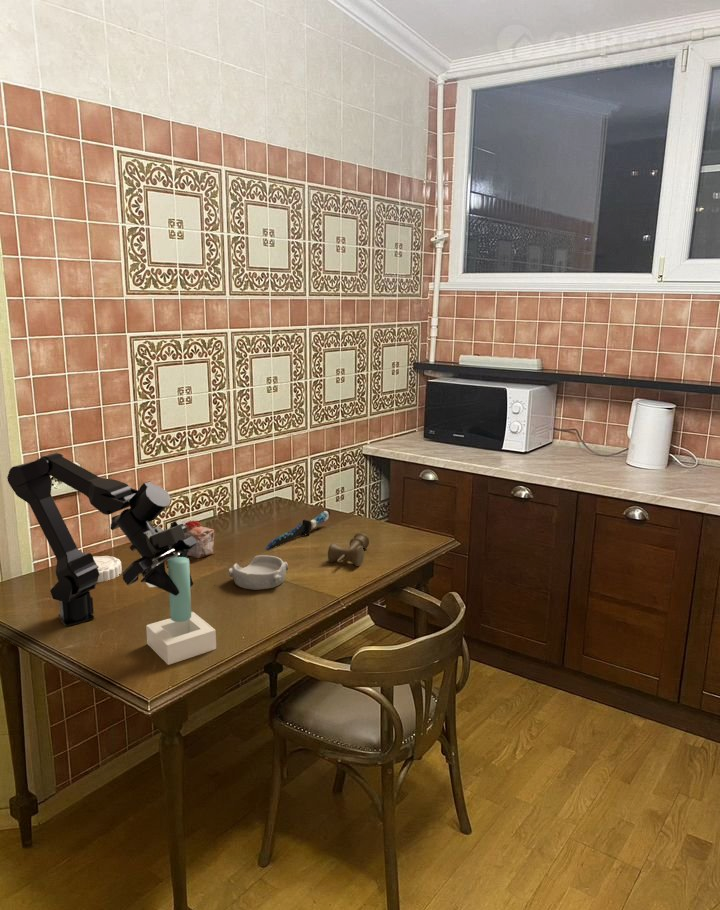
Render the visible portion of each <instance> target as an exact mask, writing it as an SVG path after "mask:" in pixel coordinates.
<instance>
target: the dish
mask: <svg viewBox="0 0 720 910" xmlns="http://www.w3.org/2000/svg"><path fill="white" fill-rule="evenodd" d="M288 570H289V565H288V562H287V561H283V560H282V558H280V557H278V556H275V555H266V554H264V555H263V554H262V555H255V556H254V557H253V558H252V559H251V562H250V563H249V564H248V565H247V566H245V567H242V566H240V565H239V564H238V563H237V562H236V563H234V564H233V566H232V567H230V568H229V569H228V576H229V577H230V578H233V581H234V584H235V585H237V586H238V587H239V588H242V589H247V590H254V591H255V590H258V591H260V590H267V589H273V588H276V587H279V586H280V585H281V584H282V583H283V582H284V581H285V579H286V574H287V572H286V571H288Z"/></svg>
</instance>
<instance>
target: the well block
mask: <svg viewBox="0 0 720 910" xmlns="http://www.w3.org/2000/svg"><path fill="white" fill-rule="evenodd" d="M216 632H217V631H216V629H215V628H214V627H212V626H211V625H210V624H209V623H208V622H207V621H205V619H203V618H202V617H200V616H199V615H198V614H197V613H195V612H194V611H191V618H190V619H189V620H187V621H183V622H175V621H172V620H171V619H170V618H167V619H163V620H159V621H155V622H152V623H148V624H147V625H146V644H147V645H148V646H149V648H151V649H152V650H153V652H155V653H156V654H157V655H158V656H159V658H160V659H162V661H164V662H165V664H166V665H168V666H169V665H172V664H176V663H178V662H181V661H184V660H187V659H191V658H193V657H196V656H200V655H203V654H205V653H209V652H213V651H214V650H216V649H217V633H216Z"/></svg>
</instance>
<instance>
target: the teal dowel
mask: <svg viewBox="0 0 720 910" xmlns="http://www.w3.org/2000/svg"><path fill="white" fill-rule="evenodd" d="M167 566H168V568H167V574H168V576H169V577H170V579H171V580H172V581H173V583H174V584H175V586H176V587H177V589H178V591H179V594H178V595H176V596H175V595H173V594H171V593H169V592H168V594H169V617H170V619H171V620H172V621H175V622H183V621H187V620H189V619H190V618H191V612H192V598H191V587H190V575H191V572H190V571H191V570H190V567H191V566H190V559H189V557H187V558H186V557H175V558H171V559H169V560H168V561H167Z"/></svg>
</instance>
